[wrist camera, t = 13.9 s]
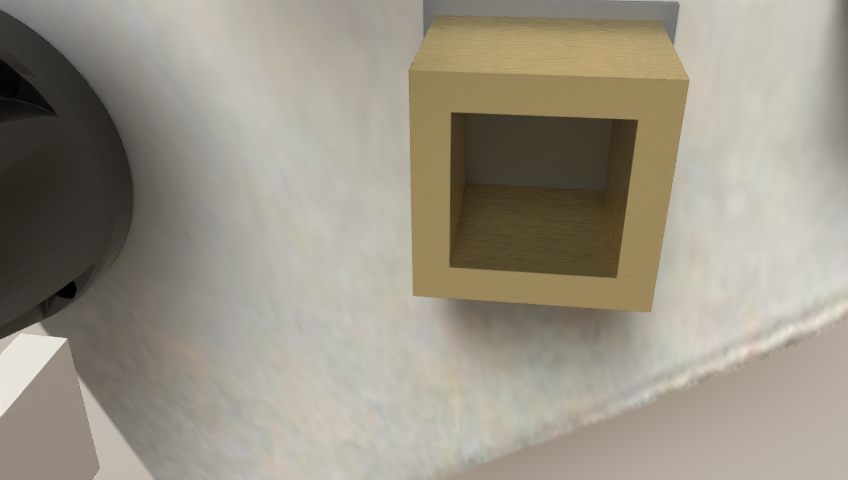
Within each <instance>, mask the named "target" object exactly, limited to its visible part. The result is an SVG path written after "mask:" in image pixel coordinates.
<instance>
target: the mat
mask: <svg viewBox="0 0 848 480" xmlns="http://www.w3.org/2000/svg"><path fill="white" fill-rule="evenodd" d="M423 8H424V38H425V36H426V34H427V32H428V30H429V27H430V25H431V23H432V21H433V19H434V17H435V15H471V16H510V17H549V18H588V19H627V20H661V22H662V24H663V26H664V28H665V30H666V32H667V34H668V36H669V38H670V40H671V43H672V45H673V43H674V36H675V30H676V23H677V17H678V10H679V3H678V2H654V1H609V0H423ZM612 121H613V119H608V118H583V117H558V116H534V115H509V114H485V113H468V131H467V179H466V183H476V184H495V185H515V186H534V187H554V188H573V189H593V190H604V188H605V180H606V171H607V163H608V154H609V146H610V138H611V129H612Z"/></svg>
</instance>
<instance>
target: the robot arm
mask: <svg viewBox="0 0 848 480" xmlns="http://www.w3.org/2000/svg"><path fill="white" fill-rule="evenodd" d="M131 215H132V183H131V176H130V171H129V166H128V162H127V158H126V155H125V152H124V149H123V146H122V143H121V140H120V138H119V135H118V133H117V131H116V129H115V127H114V124H113V122H112V120H111V118H110V117H109V115H108V113H107V111H106V110H105V108H104V106H103V105H102V103H101V101H100V100H99V98H98V97H97V95H96V94H95V92H94V91H93V90H92V88H91V87H90V86H89V84H88V83H87V82H86V81H85V79H84V78H83V77H82V76H81V74H80V73H79V72H78V71H77V70H76V69H75V68H74V67H73V65H72V64H71V63H70V62H69V61H68V60H67V59H66V58H65V57H64V56H63V55H62V54H61V53H60V52H59V51H58V50H57V49H55V48H54V47H53V46H52V45H51V44H50V43H48V42H47V41H46V40H45V39H44V38H42V37H41V36H40V35H39V34H37V33H36V32H35V31H33V30H32V29H31V28H29V27H28V26H26V25H25V24H23V23H22V22H20V21H19V20H17V19H15V18H14V17H12V16H10V15H9V14H7V13H5V12H3V11H1V10H0V339H2V338H4V337H7V336H9V335H11V334H13V333H15V332H17V331H20V330H22V329H24V328H26V327H28V326H30V325H33V324H35V323H37V322H39V321H42V320H44V319H46V318H48V317H50V316H52V315H54V314H56V313H58V312H60V311H62V310H63V309H65V308H67V307H68V306H69V305H71V304H72V303H74V302H75V301H76V300H78V299H79V298H80V297H81V296H82V295H83V294H85V293H86V292H87V290H88V289H89V288H90V287H91V286H92V285H93V284H94V283H95V282H96V281H97V280H98V278H99V277H100V276H101V275H102V274H103V273H104V272H105V271H106V270H107V269H108V268H109V266H110V265H111V264H112V263H113V261H114V260H115V259H116V257H117V255H118V254H119V252H120V250H121V248H122V246H123V244H124V242H125V239H126V236H127V234H128V230H129V226H130V221H131ZM99 468H100V467H99V463H98V459H97V455H96V451H95V447H94V443H93V439H92V435H91V431H90V427H89V423H88V419H87V414H86V411H85V407H84V402H83V398H82V394H81V390H80V386H79V382H78V378H77V374H76V370H75V366H74V362H73V358H72V354H71V350H70V346H69V342H68V338H60V337H51V336H41V335H32V334H23V333H20V334H19V335H18V336H17V337H16V338H15V339H14V340H13V341H12V342H11V343H10V344H9V345H8V346H7V347H6V349H5V350H4V351H3V352H2V353H1V354H0V480H92V479H93V478H94V476H95V475H96V473H97V471H98V470H99Z"/></svg>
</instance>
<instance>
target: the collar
mask: <svg viewBox="0 0 848 480" xmlns="http://www.w3.org/2000/svg"><path fill="white" fill-rule="evenodd" d="M688 86H689V78H688V76H687V74H686V71H685V69H684V67H683V65H682V63H681V61H680V59H679V57H678V55H677V53H676V51H675V49H674V47H673V45H672V43H671V40H670V38H669V36H668V34H667V32H666V30H665V28H664V26H663V24H662V22H661V20H627V19H588V18H549V17H510V16H471V15H435V17H434V19H433V21H432V23H431V25H430V27H429V30H428V32H427V34H426V36H425V38H424V40H423V42H422V44H421V46H420V48H419V50H418V52H417V54H416V56H415V59H414V61H413V63H412V65H411V67H410V69H409V103H410V157H411V210H412V264H413V296H423V297H438V298H452V299H467V300H481V301H495V302H510V303H524V304H539V305H553V306H568V307H582V308H596V309H611V310H625V311H640V312H651V308H652V302H653V296H654V290H655V284H656V278H657V272H658V266H659V260H660V254H661V248H662V242H663V236H664V230H665V224H666V218H667V212H668V206H669V200H670V194H671V188H672V182H673V176H674V170H675V164H676V158H677V152H678V146H679V140H680V134H681V128H682V122H683V116H684V110H685V104H686V98H687V92H688ZM468 113H485V114H509V115H534V116H558V117H583V118H608V119H613V121H612V129H611V138H610V146H609V154H608V163H607V171H606V180H605V188H604V190H593V189H573V188H554V187H534V186H515V185H495V184H476V183H466V179H467V131H468Z"/></svg>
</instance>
